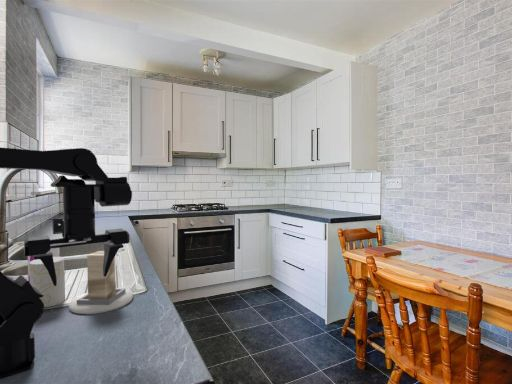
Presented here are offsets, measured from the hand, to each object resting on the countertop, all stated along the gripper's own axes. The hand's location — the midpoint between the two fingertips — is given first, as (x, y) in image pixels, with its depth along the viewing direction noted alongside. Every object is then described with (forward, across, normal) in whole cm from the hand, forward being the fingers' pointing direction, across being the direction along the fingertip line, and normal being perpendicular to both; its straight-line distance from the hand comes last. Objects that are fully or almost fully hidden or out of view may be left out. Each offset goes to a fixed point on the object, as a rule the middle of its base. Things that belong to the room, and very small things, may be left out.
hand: (81, 280), depth 62 cm
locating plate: (+13, -8, -20) cm, 25 cm away
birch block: (+12, -8, -20) cm, 25 cm away
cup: (+13, +4, -30) cm, 33 cm away
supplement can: (+13, +4, -43) cm, 45 cm away
